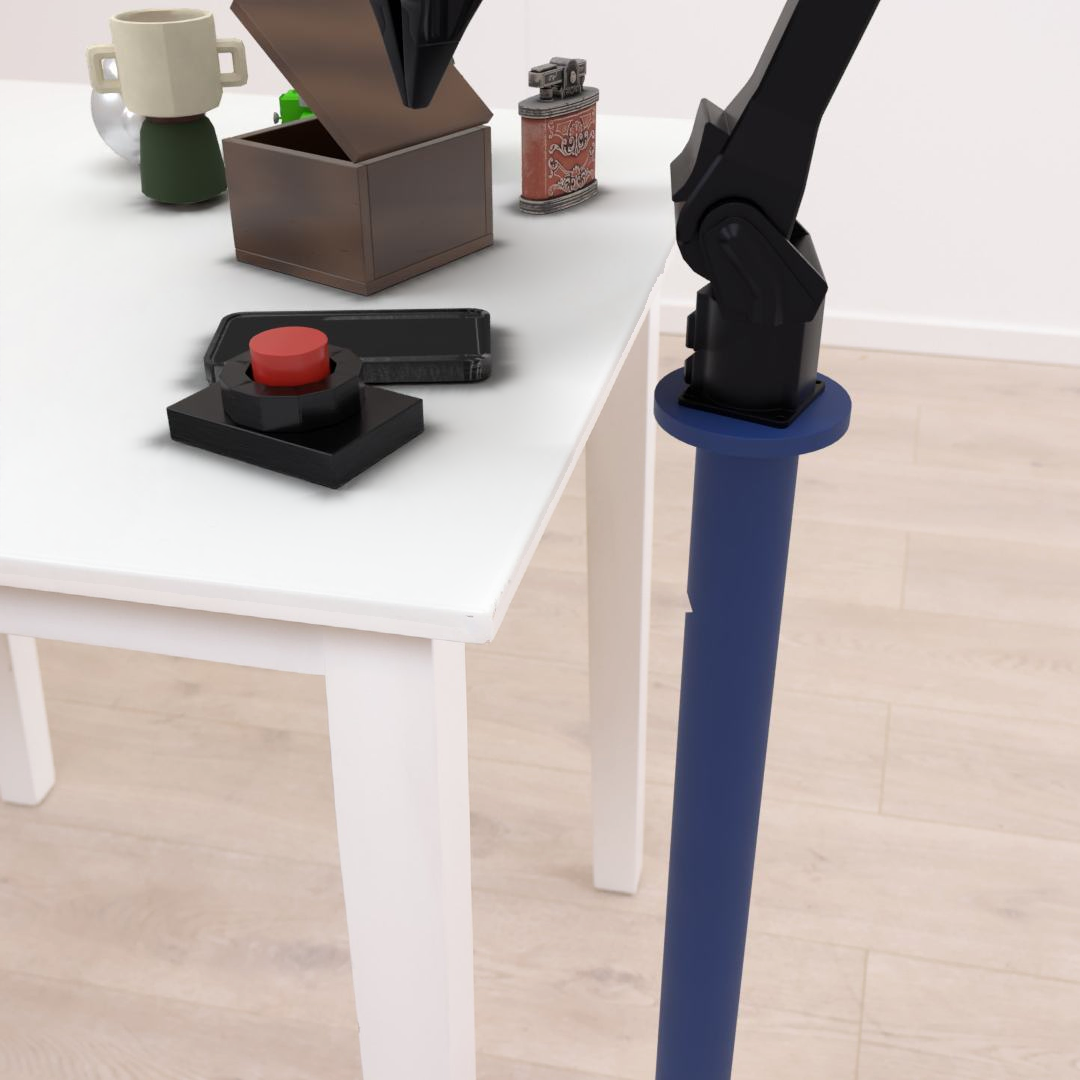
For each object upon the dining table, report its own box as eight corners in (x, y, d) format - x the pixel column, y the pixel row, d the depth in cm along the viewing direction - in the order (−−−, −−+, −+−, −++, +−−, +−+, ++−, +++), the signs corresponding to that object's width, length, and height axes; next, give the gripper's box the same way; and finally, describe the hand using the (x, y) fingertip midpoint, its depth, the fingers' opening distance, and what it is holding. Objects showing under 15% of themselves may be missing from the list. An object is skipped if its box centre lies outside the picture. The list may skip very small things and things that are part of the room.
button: (346, 369, 62) (343, 335, 61) (297, 396, 59) (293, 361, 59) (287, 354, 64) (283, 321, 63) (237, 380, 61) (232, 345, 60)
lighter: (570, 184, 101) (571, 48, 96) (607, 190, 100) (610, 53, 94) (508, 208, 96) (506, 65, 90) (546, 216, 94) (546, 71, 89)
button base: (425, 430, 64) (421, 363, 62) (335, 489, 58) (328, 418, 57) (267, 388, 68) (259, 324, 66) (170, 439, 63) (159, 371, 61)
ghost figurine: (78, 179, 103) (53, 45, 98) (129, 149, 111) (109, 24, 106) (187, 184, 101) (168, 48, 96) (231, 153, 109) (215, 27, 104)
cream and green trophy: (257, 182, 102) (237, 3, 95) (264, 207, 96) (244, 19, 89) (112, 192, 99) (81, 10, 93) (110, 219, 94) (77, 26, 87)
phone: (490, 361, 68) (199, 365, 67) (491, 381, 68) (202, 385, 68) (490, 307, 75) (225, 310, 74) (490, 325, 75) (227, 329, 75)
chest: (236, 260, 86) (221, 139, 82) (367, 214, 94) (359, 103, 90) (366, 296, 80) (357, 167, 76) (493, 244, 89) (491, 126, 85)
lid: (229, 8, 77) (233, -3, 76) (374, -17, 85) (380, -27, 85) (353, 164, 76) (359, 155, 75) (488, 123, 85) (494, 114, 84)
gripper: (148, -268, 59) (177, 89, 67) (421, -249, 48) (416, 174, 56) (344, -254, 66) (348, 67, 74) (620, -235, 55) (591, 139, 63)
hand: (415, 107), depth 67 cm, fingers closed
